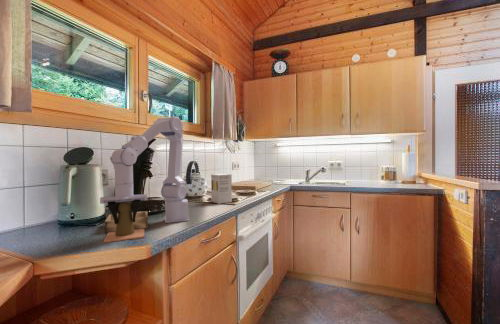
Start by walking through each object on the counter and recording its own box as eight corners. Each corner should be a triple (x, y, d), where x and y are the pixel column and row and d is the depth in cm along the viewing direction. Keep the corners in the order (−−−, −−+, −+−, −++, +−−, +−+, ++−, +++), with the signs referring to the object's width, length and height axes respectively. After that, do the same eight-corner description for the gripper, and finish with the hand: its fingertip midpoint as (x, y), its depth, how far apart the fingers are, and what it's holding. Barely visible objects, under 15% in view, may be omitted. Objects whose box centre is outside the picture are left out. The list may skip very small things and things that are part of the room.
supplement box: (211, 201, 153) (210, 174, 153) (224, 200, 158) (223, 173, 158) (218, 204, 145) (218, 174, 145) (232, 202, 151) (231, 174, 150)
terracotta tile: (144, 229, 95) (144, 228, 95) (144, 237, 85) (144, 236, 85) (108, 234, 90) (108, 232, 90) (103, 242, 81) (103, 241, 81)
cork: (127, 236, 85) (127, 204, 85) (111, 235, 86) (111, 203, 86) (137, 231, 91) (138, 201, 91) (122, 230, 92) (122, 200, 92)
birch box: (147, 220, 109) (147, 211, 109) (147, 227, 98) (147, 217, 98) (109, 224, 104) (109, 214, 104) (105, 232, 92) (104, 221, 92)
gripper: (98, 185, 81) (99, 227, 81) (146, 183, 86) (147, 222, 87) (101, 183, 87) (102, 222, 88) (146, 181, 93) (147, 218, 93)
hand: (125, 222), depth 88 cm, fingers closed on cork, 5 cm apart
